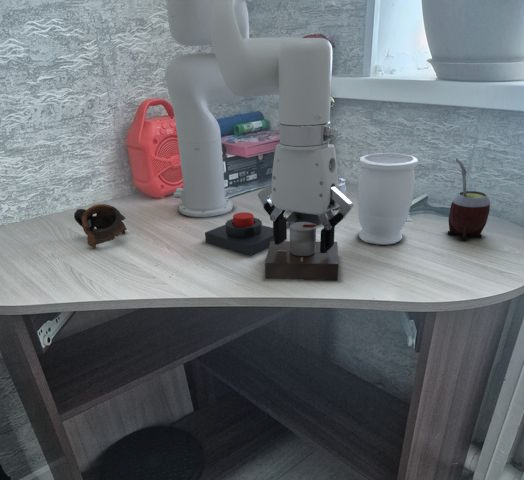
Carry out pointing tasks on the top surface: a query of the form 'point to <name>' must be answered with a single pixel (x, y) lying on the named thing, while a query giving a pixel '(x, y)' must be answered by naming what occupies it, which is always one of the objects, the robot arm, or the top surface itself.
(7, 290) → the top surface
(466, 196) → the mate gourd
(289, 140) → the robot arm
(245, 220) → the button
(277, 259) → the dial panel
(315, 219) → the black wing nut
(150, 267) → the top surface
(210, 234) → the button block
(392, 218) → the jar
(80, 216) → the rusty brown ring housing
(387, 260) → the top surface
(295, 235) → the dial
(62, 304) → the top surface
